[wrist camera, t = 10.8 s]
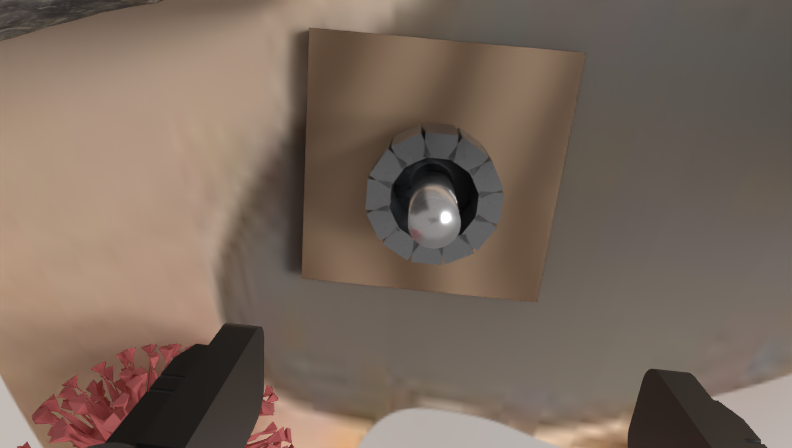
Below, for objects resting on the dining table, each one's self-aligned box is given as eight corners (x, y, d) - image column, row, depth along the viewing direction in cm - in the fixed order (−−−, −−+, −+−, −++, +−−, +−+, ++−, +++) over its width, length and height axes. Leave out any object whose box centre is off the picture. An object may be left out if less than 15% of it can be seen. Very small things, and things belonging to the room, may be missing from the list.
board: (579, 52, 27) (585, 53, 26) (533, 293, 32) (537, 302, 31) (313, 28, 28) (309, 27, 26) (305, 270, 32) (301, 278, 31)
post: (481, 135, 28) (503, 171, 20) (469, 220, 29) (485, 284, 21) (391, 127, 28) (378, 158, 20) (384, 212, 29) (369, 272, 22)
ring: (502, 130, 26) (512, 141, 23) (484, 246, 28) (490, 270, 25) (378, 117, 26) (372, 126, 23) (368, 233, 28) (361, 256, 25)
